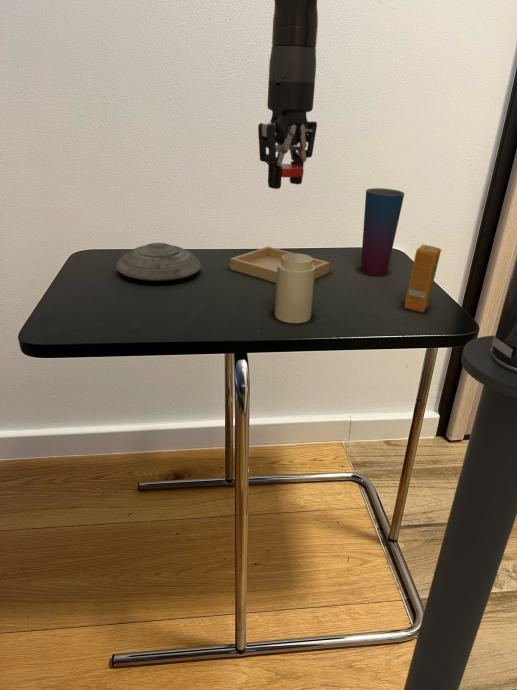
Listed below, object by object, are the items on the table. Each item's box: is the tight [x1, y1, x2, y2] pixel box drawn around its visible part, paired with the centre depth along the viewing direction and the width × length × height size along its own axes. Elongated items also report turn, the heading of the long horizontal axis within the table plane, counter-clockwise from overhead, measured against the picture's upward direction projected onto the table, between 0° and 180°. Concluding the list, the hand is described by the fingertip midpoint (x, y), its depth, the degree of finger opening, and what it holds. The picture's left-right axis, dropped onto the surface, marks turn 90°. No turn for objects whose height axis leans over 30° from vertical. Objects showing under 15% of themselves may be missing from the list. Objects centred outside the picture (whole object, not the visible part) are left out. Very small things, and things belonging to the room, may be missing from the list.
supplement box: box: [404, 244, 442, 313], centre depth 86 cm, size 3×3×10 cm
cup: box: [360, 187, 405, 276], centre depth 101 cm, size 7×7×15 cm
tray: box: [229, 246, 331, 284], centre depth 101 cm, size 15×12×2 cm
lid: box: [281, 163, 305, 178], centre depth 94 cm, size 6×6×1 cm
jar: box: [274, 252, 316, 324], centre depth 81 cm, size 6×6×9 cm
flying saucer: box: [115, 242, 202, 282], centre depth 97 cm, size 15×15×6 cm
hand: (285, 185), depth 95 cm, fingers closed on lid, 5 cm apart
